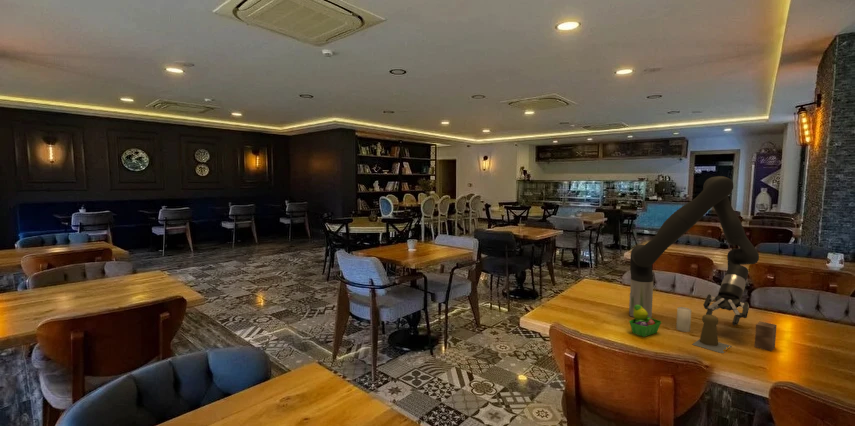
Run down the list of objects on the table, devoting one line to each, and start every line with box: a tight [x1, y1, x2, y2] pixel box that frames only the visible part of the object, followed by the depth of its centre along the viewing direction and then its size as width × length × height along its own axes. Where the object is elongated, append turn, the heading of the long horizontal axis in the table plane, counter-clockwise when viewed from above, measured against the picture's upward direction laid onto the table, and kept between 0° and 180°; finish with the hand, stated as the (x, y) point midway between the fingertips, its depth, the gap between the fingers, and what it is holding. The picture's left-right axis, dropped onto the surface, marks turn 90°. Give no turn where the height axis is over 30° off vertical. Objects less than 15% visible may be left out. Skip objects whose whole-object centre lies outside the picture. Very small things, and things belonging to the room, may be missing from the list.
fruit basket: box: [628, 305, 662, 338], centre depth 166 cm, size 11×9×11 cm
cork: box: [699, 314, 719, 346], centre depth 155 cm, size 6×6×11 cm
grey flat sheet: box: [691, 338, 732, 354], centre depth 153 cm, size 10×10×1 cm
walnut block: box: [754, 321, 777, 352], centre depth 151 cm, size 5×5×9 cm
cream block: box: [675, 306, 692, 333], centre depth 168 cm, size 5×5×9 cm
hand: (720, 321), depth 158 cm, fingers open, 8 cm apart
